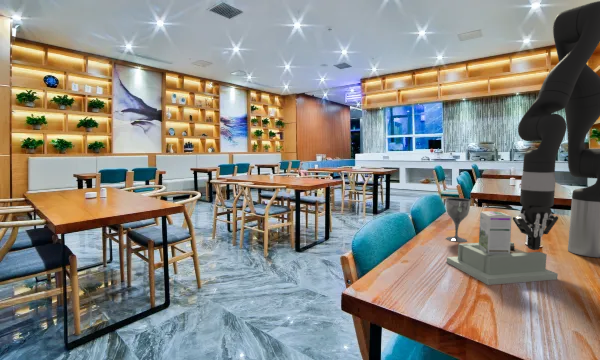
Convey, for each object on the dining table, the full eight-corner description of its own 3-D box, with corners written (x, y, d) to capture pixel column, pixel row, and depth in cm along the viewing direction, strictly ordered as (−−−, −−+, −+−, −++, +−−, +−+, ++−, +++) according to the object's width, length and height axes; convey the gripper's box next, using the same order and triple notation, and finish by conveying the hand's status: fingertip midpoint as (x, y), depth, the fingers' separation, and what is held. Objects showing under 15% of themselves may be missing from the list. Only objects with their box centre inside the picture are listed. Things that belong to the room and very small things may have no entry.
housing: (506, 258, 96) (507, 239, 96) (557, 279, 80) (559, 256, 80) (446, 262, 93) (447, 242, 92) (487, 284, 77) (489, 261, 76)
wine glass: (469, 238, 118) (471, 198, 116) (467, 243, 111) (469, 201, 110) (446, 235, 122) (447, 197, 120) (442, 240, 115) (444, 199, 114)
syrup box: (510, 270, 82) (513, 215, 81) (485, 269, 83) (489, 214, 82) (499, 262, 88) (502, 211, 87) (476, 261, 89) (479, 210, 87)
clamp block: (504, 258, 91) (506, 241, 90) (527, 267, 84) (528, 249, 83) (492, 259, 90) (493, 242, 90) (514, 268, 83) (515, 250, 82)
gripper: (528, 190, 83) (524, 255, 84) (571, 189, 85) (566, 251, 87) (505, 187, 90) (502, 246, 92) (545, 185, 92) (541, 243, 94)
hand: (533, 248), depth 89 cm, fingers closed
